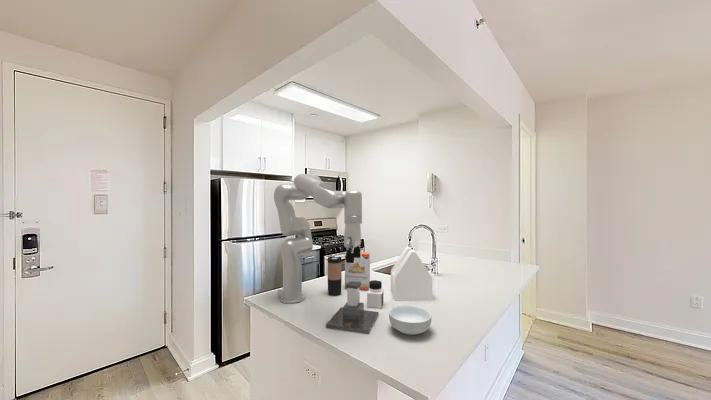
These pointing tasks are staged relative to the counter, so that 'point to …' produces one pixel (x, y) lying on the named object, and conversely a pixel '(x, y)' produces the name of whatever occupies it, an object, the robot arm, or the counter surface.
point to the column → (353, 294)
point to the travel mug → (334, 276)
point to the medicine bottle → (375, 294)
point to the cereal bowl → (410, 319)
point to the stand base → (353, 319)
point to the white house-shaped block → (410, 278)
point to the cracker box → (358, 270)
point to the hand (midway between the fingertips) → (353, 260)
